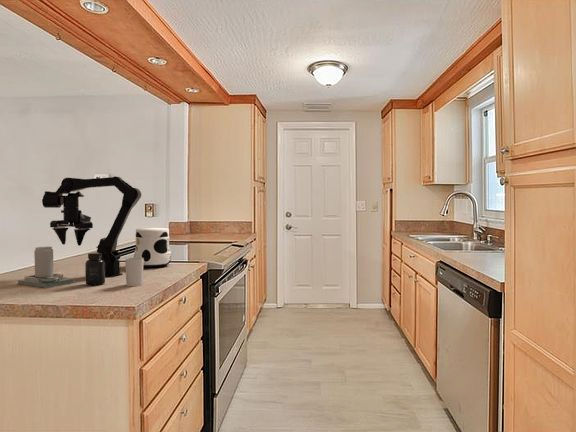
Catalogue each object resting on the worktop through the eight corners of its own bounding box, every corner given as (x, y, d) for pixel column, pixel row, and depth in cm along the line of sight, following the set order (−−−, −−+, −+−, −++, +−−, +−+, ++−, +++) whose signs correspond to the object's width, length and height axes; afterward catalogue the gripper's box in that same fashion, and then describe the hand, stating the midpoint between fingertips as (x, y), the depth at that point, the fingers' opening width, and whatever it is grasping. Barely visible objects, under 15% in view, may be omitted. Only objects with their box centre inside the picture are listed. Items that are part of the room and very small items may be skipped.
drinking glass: (125, 283, 165) (124, 257, 165) (143, 282, 167) (143, 257, 167) (125, 287, 159) (125, 260, 158) (144, 285, 161) (144, 259, 161)
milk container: (128, 265, 208) (127, 228, 207) (161, 262, 219) (161, 227, 219) (143, 270, 195) (142, 231, 194) (177, 266, 207) (177, 229, 206)
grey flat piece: (74, 282, 167) (74, 274, 167) (46, 288, 156) (46, 279, 156) (47, 278, 174) (47, 271, 174) (18, 284, 163) (18, 276, 163)
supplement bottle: (109, 283, 166) (108, 252, 165) (95, 286, 159) (95, 254, 159) (94, 281, 168) (94, 251, 167) (81, 285, 161) (80, 253, 161)
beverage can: (47, 279, 164) (47, 248, 163) (31, 279, 164) (30, 247, 163) (57, 276, 170) (56, 246, 170) (41, 276, 170) (40, 246, 170)
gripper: (103, 207, 182) (103, 244, 183) (71, 207, 190) (72, 242, 190) (80, 208, 172) (81, 247, 173) (48, 207, 180) (49, 244, 180)
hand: (71, 245), depth 179 cm, fingers open, 9 cm apart
